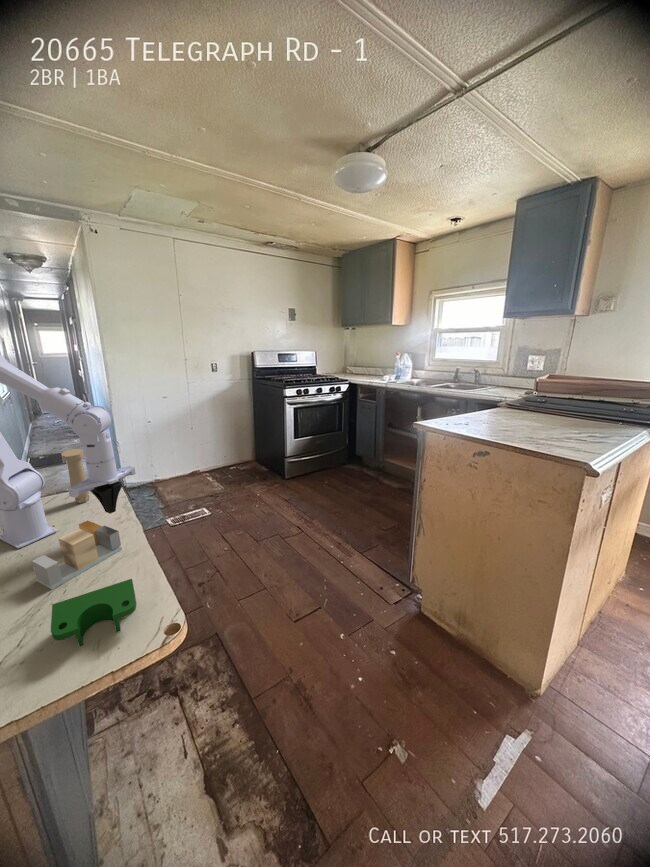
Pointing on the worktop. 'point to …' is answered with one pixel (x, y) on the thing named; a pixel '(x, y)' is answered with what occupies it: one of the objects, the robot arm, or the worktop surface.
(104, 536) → the free jaw
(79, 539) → the block
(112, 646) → the worktop surface
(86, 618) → the clamp
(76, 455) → the handle
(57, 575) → the vise
